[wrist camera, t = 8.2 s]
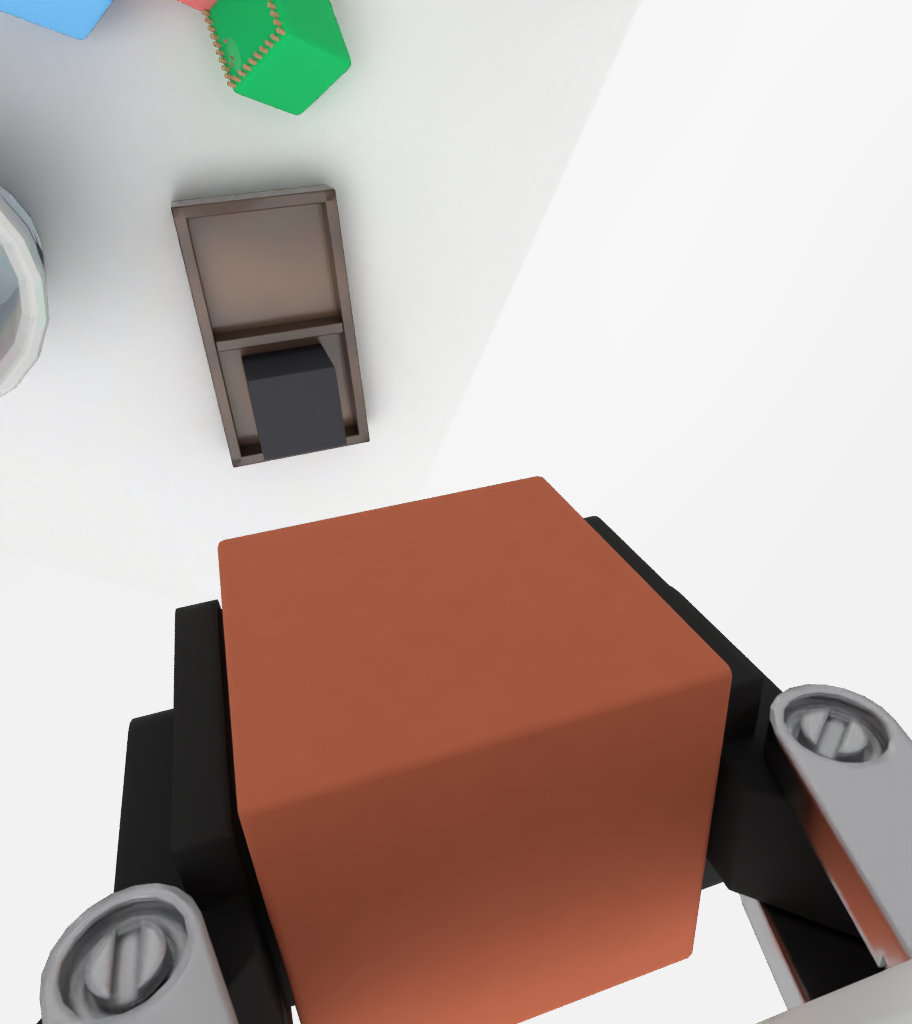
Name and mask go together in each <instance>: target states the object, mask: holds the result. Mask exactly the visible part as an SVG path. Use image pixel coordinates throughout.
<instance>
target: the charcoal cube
mask: <svg viewBox="0 0 912 1024" xmlns="http://www.w3.org/2000/svg"><path fill="white" fill-rule="evenodd" d="M242 362H243V367H244V372H245V376H246V381H247V385H248V390H249V395H250V399H251V404H252V408H253V413H254V418H255V422H256V427H257V431H258V436H259V440H260V444H261V448H262V452H263V456H264V460H270V459H275V458H280V457H285V456H290V455H296V454H301V453H306V452H311V451H316V450H322V449H327V448H332V447H337V446H342V445H346V444H347V441H346V435H345V428H344V422H343V415H342V409H341V402H340V396H339V389H338V383H337V377H336V370H335V366H334V365H333V363H332V361H331V360H330V358H329V356H328V354H327V353H326V351H325V349H324V348H323V346H322V344H315V345H309V346H302V347H296V348H290V349H284V350H277V351H271V352H265V353H259V354H252V355H246V356H242Z"/></svg>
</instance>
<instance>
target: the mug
mask: <svg viewBox="0 0 912 1024" xmlns="http://www.w3.org/2000/svg"><path fill="white" fill-rule="evenodd" d="M48 322H49V312H48V300H47V289H46V278H45V267H44V257H43V247H42V242H41V240H40V237H39V235H38V233H37V231H36V228H35V226H34V224H33V222H32V219H31V217H30V216H29V215H28V214H27V213H26V211H25V210H24V209H23V208H22V206H21V205H20V204H19V203H18V202H17V200H16V199H15V198H14V197H13V196H12V194H10V193H9V192H7V191H6V190H5V189H3V188H2V187H1V186H0V397H2V396H3V395H5V394H6V393H8V392H9V391H11V390H13V389H14V388H16V387H17V386H18V384H19V383H20V382H21V380H22V379H23V378H24V376H25V375H26V374H27V372H28V371H29V370H30V368H31V367H32V366H33V364H34V363H35V362H36V360H37V359H38V358H39V356H40V352H41V348H42V345H43V341H44V337H45V333H46V329H47V326H48Z"/></svg>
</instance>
